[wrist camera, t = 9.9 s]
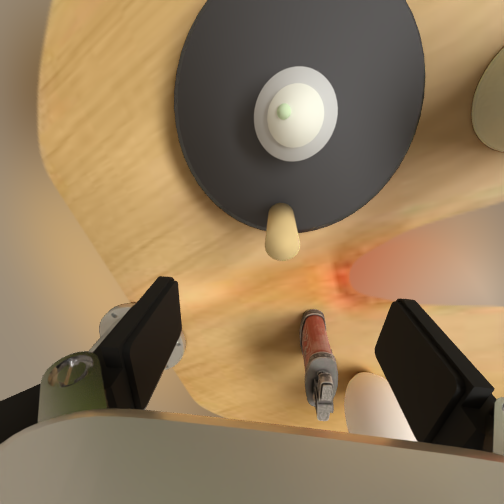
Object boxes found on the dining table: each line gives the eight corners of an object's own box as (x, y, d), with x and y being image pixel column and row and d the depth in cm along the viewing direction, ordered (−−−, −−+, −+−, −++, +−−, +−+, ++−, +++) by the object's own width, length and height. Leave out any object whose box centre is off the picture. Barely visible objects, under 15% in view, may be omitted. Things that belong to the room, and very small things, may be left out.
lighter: (322, 354, 34) (339, 433, 25) (298, 353, 34) (306, 430, 25) (327, 309, 30) (348, 381, 21) (300, 308, 31) (310, 380, 22)
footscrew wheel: (454, 132, 20) (567, 130, 12) (274, 258, 26) (273, 307, 19) (324, -132, 14) (377, -431, 7) (140, 109, 21) (64, 93, 13)
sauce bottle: (332, 391, 37) (375, 588, 21) (340, 356, 33) (399, 559, 17) (384, 396, 36) (470, 603, 20) (398, 360, 33) (515, 576, 17)
